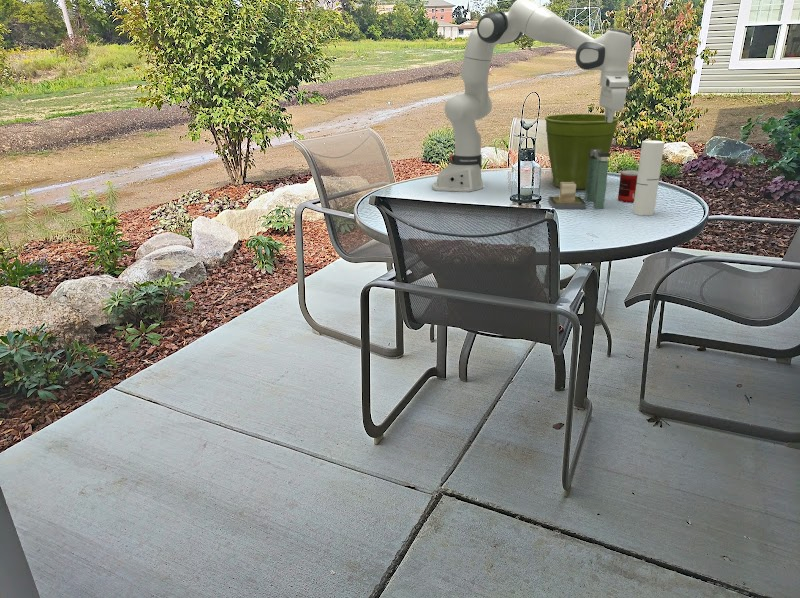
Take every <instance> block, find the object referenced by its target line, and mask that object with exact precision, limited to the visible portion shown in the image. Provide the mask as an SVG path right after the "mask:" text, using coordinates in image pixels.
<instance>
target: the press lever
mask: <svg viewBox="0 0 800 598" xmlns="http://www.w3.org/2000/svg"><path fill="white" fill-rule="evenodd" d="M589 156H590V157H596V158H597V159H599V160H600V161H607V162H608V158H610V157H611V153H610V151H609V152H602V149H590V152H589Z"/></svg>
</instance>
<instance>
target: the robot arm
mask: <svg viewBox="0 0 800 598" xmlns="http://www.w3.org/2000/svg"><path fill="white" fill-rule="evenodd" d="M523 35H525V36H527V37H528V38H530V39H532V40H534V41H536V42H539V43H541V44H557V45H563V46H566V47H568V48H571V49H573V50H575V55H574V56H575V62H576V65H577V67H578V68H580V69H582V70H585V71H600V72H601V73H600V81H599V86H600V87H601V89H600V94H599V107H602V108H603V109H604V115H605V121H606V122H608V123H612V122H613V117H614V116H615V114H616V112H622V111H623V109H624V106H625V103H626V96H627V90H628V89H627V88H629V87H630V79H629V76H628V75H629V61H630V59H631V52H632V36H631V33H630V32H629V31H627V30H624V29H617V28H610V29H608V30H607V31H606V32H605V33H603V34H601V35H599V36H598V37H596V38H595V37H593V36H591V35H589V33H588V34H587V33H586V32H583V31H581V30H580V29H578V28H576V27H574V26H573V25H571V24H570V23H569V22H567V21H565V20H564V19H563V18H562V17H560V16H559V15H557V14H556V13H555V12H553V11H552V10H550V9H549V8H548V7H546V6H544V5H542V4H541V3H538V2H536V1H533V0H515V1H514V2H513V4H512V5H511V6H510V9H508V11H503V10H499V11H491V12H487V13H486V14H483V15H482V16H481V17H480V18H479V19H478V22H477V26H476V28H474V29H473V30H471V31H470V33H469V36H468V38H467V43H466V44H465V45H466V46H465V50H464V53H463V61H462V65H461V71H460V72H461V73H460V78H461V80H462V81H463V83H464V94H463V93H462V94H456V95H454V96H452V97H451V98H448V100H447V101H446V102H445V105H444V113H445V116H446V118H447V119H448V120H449V122H450V123H451V126H452V130H453V133H454V154H452V153H451V154H449V156H448V158H449V162H450V163H449V164H448V165H446V166H445V167H444V168H443V169H442V170H440V171H439V173H438V175H437V178H436V182H433V183H432V185H431V189H432V190H433V191H435V192H436V191H438V192H439V191H440V192H441V191H442V192H460V193H461V192H462V193H463V192H465V193H466V192H467V193H468V192H469V193H470V192H472V191H477V190H481V189H483V188H484V184H483V179H482V165H483V163H482V162H483V157H482V155H483V154H482V153H481V151H482V136H481V133H480V132H479V131H478V129H477V124H476V121H478V120H482V119H484V118H485V117H486V116H489V115H490V113H491V112H492V109H493V102H492V99H491V97H490V95H489V86H488V85H489V84H488V83H489V81H488V80H489V76H490V75H489V73H490V70H491V69H490V68H491V62H492V58H493V52H494V49H495V47H496V46H497V45H506V44H511V43H514V42H517V41H518V40H520V39H521V38H522V36H523Z"/></svg>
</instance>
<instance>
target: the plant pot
mask: <svg viewBox="0 0 800 598" xmlns="http://www.w3.org/2000/svg"><path fill="white" fill-rule="evenodd" d="M544 120H545V132H546V140H547V141H546V142H547V151H548V158H549V163H550V170H551V173H552V184H553V185H554V186H555V187H558V188H560V182H574V183H575V184H576V190H585V189H586V179H587V169H588V159H589V157H590V156H589V152H590V149H602V152H609V153H610V150H611V147H612V143H613V140H614V139H613V138H614V135H615V133H616V128H617V126H618V125H617V123H618V121H619V120H620V117H619V116H615V115H614V117H613V122H612V123H608V122H606V121H605V114H599V113H597V114H596V113H567V114H566V113H563V114H562V113H561V114H554V115H547V116H545V117H544Z"/></svg>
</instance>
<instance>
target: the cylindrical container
mask: <svg viewBox="0 0 800 598" xmlns="http://www.w3.org/2000/svg"><path fill="white" fill-rule="evenodd" d="M664 147H665V141H662V140H642V142H641V146H640V155H639V160H638V161H639V162H638V169H637V171H638V176H637V183H636V191H635V198H634V202H633V207H632V214H634V213H635V214H634V215H636V214H638V215H637V216H643V215H649V216H654V215H655V208H656V202H657V196H658V189H659V181H660V175H661V169H662V163H663V162H662V161H663V157H664V156H663V155H664Z"/></svg>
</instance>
